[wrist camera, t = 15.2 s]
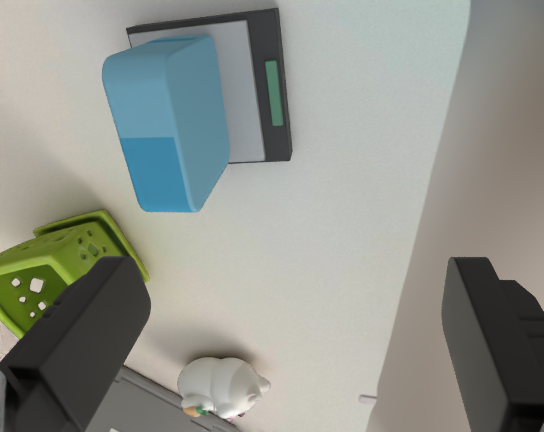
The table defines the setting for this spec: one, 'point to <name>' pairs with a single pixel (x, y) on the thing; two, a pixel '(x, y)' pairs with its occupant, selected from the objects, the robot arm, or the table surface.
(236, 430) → the laptop
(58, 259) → the flower pot
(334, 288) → the table surface
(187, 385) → the cat figurine
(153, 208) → the blue rounded block
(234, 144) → the scale
